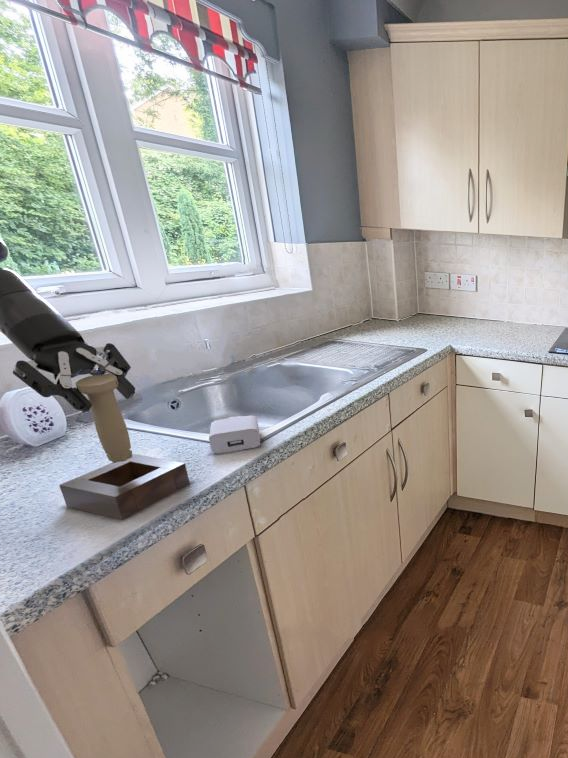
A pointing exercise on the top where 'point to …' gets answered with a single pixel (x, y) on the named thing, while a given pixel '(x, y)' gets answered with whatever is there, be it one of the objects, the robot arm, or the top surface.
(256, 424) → the charger
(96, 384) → the handle
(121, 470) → the socket
